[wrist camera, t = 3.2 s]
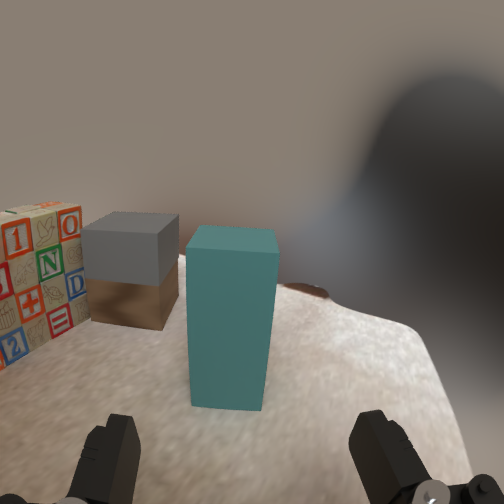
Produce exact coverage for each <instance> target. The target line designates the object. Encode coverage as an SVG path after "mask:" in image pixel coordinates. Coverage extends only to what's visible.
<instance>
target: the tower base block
mask: <svg viewBox="0 0 504 504" xmlns="http://www.w3.org/2000/svg"><path fill="white" fill-rule="evenodd" d="M85 285H86V292H87V298H88V304H89V310H90V315H91V321H95V322H101V323H107V324H114V325H121V326H128V327H135V328H142V329H150V330H158V331H162V330H163V328H164V325H165V323H166V321H167V319H168V317H169V315H170V312H171V310H172V308H173V306H174V304H175V302H176V300H177V298H178V296H179V292H178V259H177V261H176V262H175V264H174V265H173V267H172V268H171V270H170V271H169V273H168V274H167V276H166V277H165V279H164V280H163V282H162V283H161V285H160V286H151V285H141V284H131V283H122V282H113V281H104V280H96V279H87V278H85Z"/></svg>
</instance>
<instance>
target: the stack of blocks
mask: <svg viewBox="0 0 504 504" xmlns="http://www.w3.org/2000/svg"><path fill="white" fill-rule="evenodd" d="M80 229H82V211H81V205H75V204H69V203H60V202H46V203H41V204H37V205H24V206H20V207H16V208H12V209H8V210H6V211H5V212H0V370H2V369H4V368H5V367H6V366H7V365H10V364H11V363H13V362H14V361H16V360H18V359H19V358H21V357H23V356H24V355H26V354H28V353H29V352H31V351H33V350H34V349H36V348H38V347H39V346H41V345H43V344H44V343H46V342H48V341H50V340H51V339H54V338H56V337H57V336H59V335H61V334H62V333H64V332H66V331H68V330H69V329H71V328H73V327H74V326H76V325H78V324H80V323H82V322H83V321H85V320H87V319H89V318H90V317H91V315H90V310H89V304H88V298H87V292H86V285H85V271H84V263H83V254H82V245H81V234H80Z"/></svg>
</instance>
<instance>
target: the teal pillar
mask: <svg viewBox="0 0 504 504" xmlns="http://www.w3.org/2000/svg"><path fill="white" fill-rule="evenodd" d="M279 257H280V253H279V248H278V244H277V241H276V237H275V233H274V230H272V229H271V230H270V229H257V228H241V227H226V226H210V225H200V226H199V228H198V229H197V231H196V233H195V234H194V236H193V237H192V239H191V240H190V242H189V243H188V245H187V246H186V304H187V334H188V356H189V374H190V389H191V403H192V406H197V407H207V408H218V409H231V410H249V411H261V407H262V400H263V393H264V385H265V377H266V370H267V362H268V354H269V346H270V337H271V329H272V321H273V312H274V303H275V294H276V285H277V276H278V267H279Z"/></svg>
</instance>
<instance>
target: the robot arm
mask: <svg viewBox="0 0 504 504" xmlns="http://www.w3.org/2000/svg"><path fill="white" fill-rule="evenodd" d="M349 450H350V453H351V456H352V458H353V461H354V463H355V466H356V468H357V471H358V473H359V476H360V478H361V481H362V483H363V486H364V489H365V491H366V494H367V496H368V499H369V501H370V504H504V495H503V493H502V492H501V490H500V488H499V486H498V485H497V483H496V481H495V480H494V479H493V478H492V477H491V476H489V475H486V474H480V475H477V476H475V477H474V478H472V480H471V481H470V482H469V483H467V484H459V485H451V486H447V485H445V484H444V483H443V482H441V481H439V480H433V479H432V478H431V477H430V475H429V474H428V472H427V470H426V468H425V466H424V465H423V463H422V461H421V459H420V458H419V456H418V454H417V452H416V450H415V449H414V448H413V445H412V443H411V442H410V440H408V436H407V435H406V433H405V431H404V430H403V428H402V427H401V426H400V425H398V424H397V423H396V422H395V421H393V420H390V421H388V420H387V418H386V417H385V415H384V413H383V412H382V411H381V410H373V411H368V412H362V413H360V414H359V416H358V418H357V420H356V423H355V425H354V427H353V430H352V432H351V434H350V437H349ZM140 454H141V445H140V440H139V436H138V433H137V430H136V427H135V423H134V420H133V417H132V416H126V415H118V414H110V416H109V418H108V421H107V424H106V427H103V426H98V425H97V426H96V427H95V428H94V429H93V430H92V431H91V432H90V433H89V434H88V436H87V439H86V441H85V444H84V449H83V450H82V453H81V458H80V459H79V462H78V465H77V468H76V471H75V474H74V477H73V480H72V483H71V487H70V490H69V492H68V494H67V496H66V497H65V498H63V499H61V500H59V501H58V502H57V503H54V504H132V500H133V494H134V488H135V482H136V477H137V471H138V465H139V460H140ZM0 504H37V503H27V502H26V501H25V500H24V499H23V498H21V497H20V496H18V495H15V494H5V495H2V496H1V497H0Z"/></svg>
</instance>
